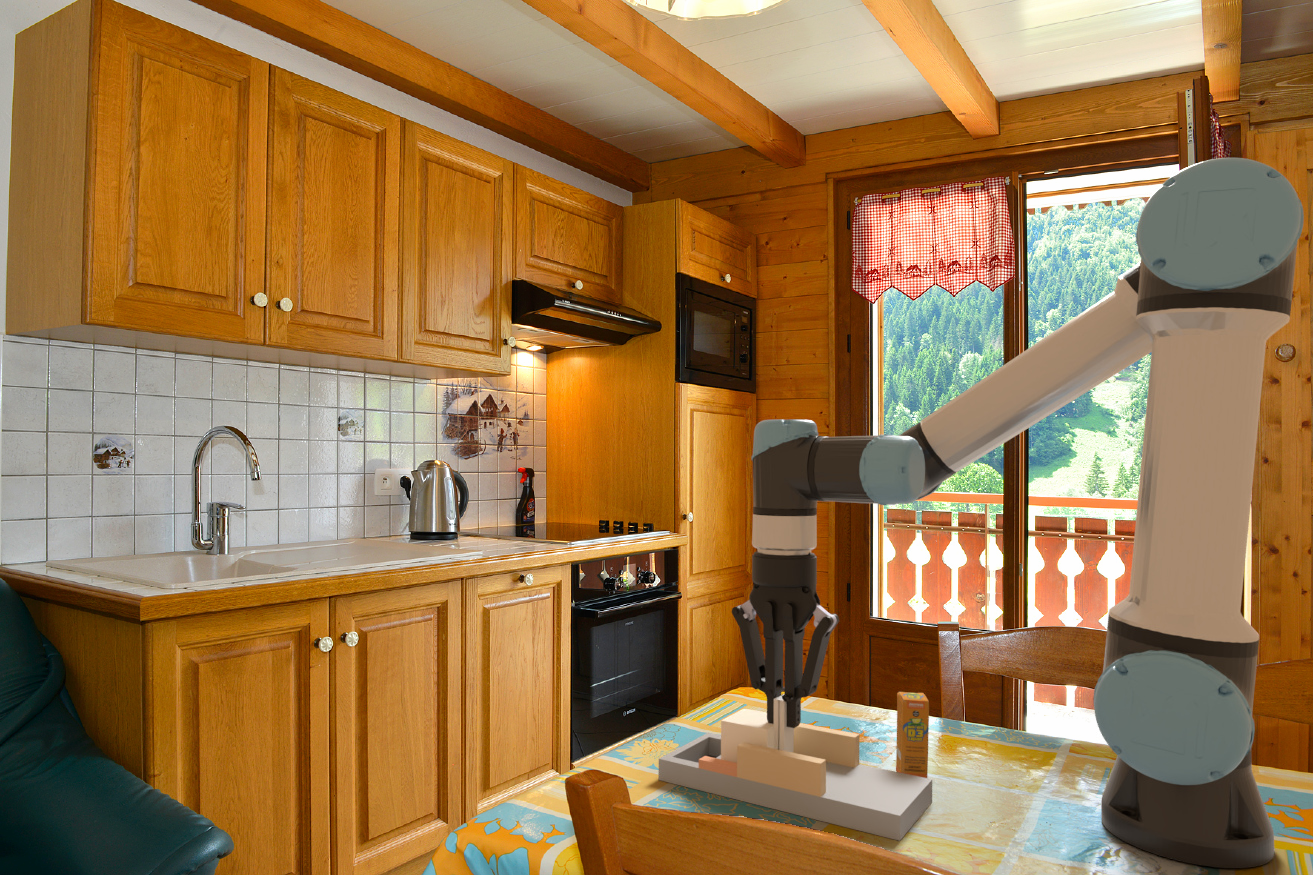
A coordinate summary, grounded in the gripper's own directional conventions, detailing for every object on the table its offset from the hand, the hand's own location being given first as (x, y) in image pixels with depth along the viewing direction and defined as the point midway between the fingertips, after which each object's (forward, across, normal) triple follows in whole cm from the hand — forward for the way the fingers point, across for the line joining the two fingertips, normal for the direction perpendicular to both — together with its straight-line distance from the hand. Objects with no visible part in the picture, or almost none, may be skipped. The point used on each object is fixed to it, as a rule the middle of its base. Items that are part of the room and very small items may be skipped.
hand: (783, 753), depth 99 cm
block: (+2, +4, 0) cm, 4 cm away
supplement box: (+4, -12, -12) cm, 17 cm away
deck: (+4, -1, 0) cm, 4 cm away
